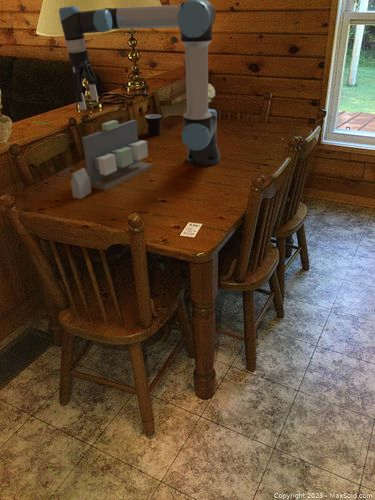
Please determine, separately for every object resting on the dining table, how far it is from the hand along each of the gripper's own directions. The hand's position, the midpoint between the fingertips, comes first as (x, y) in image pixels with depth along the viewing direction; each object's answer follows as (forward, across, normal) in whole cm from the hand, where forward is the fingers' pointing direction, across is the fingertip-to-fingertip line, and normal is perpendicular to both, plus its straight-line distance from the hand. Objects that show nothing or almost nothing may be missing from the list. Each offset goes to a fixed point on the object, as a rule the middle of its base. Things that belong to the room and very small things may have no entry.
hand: (89, 104), depth 184 cm
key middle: (+21, +14, +15) cm, 29 cm away
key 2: (+22, +5, +19) cm, 29 cm away
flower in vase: (+32, -55, +38) cm, 75 cm away
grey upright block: (+25, +35, +5) cm, 43 cm away
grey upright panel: (+26, +13, +11) cm, 32 cm away
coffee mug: (+30, -47, +13) cm, 57 cm away
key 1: (+20, +23, +11) cm, 33 cm away
